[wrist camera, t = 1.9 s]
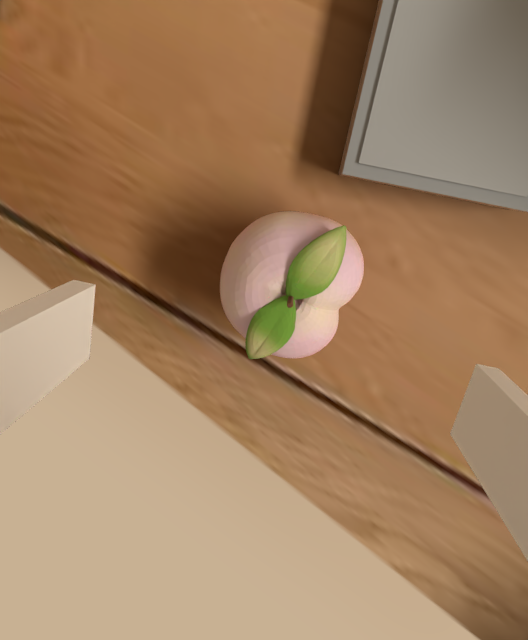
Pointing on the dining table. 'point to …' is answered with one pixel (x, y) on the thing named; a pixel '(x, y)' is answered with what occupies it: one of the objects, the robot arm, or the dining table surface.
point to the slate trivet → (445, 101)
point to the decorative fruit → (289, 282)
